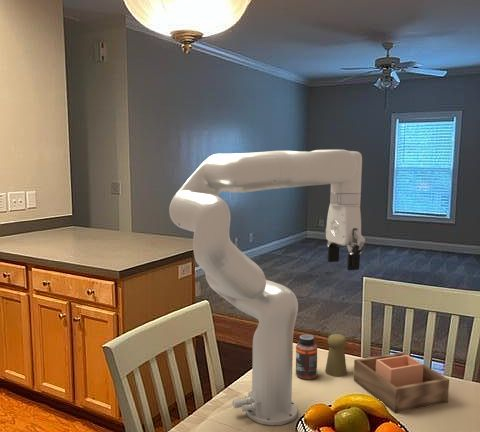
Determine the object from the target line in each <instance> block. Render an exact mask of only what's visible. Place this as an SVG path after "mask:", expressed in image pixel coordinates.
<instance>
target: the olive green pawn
mask: <svg viewBox="0 0 480 432" xmlns="http://www.w3.org/2000/svg"><path fill="white" fill-rule="evenodd" d="M327 344H328V346H329V348H328V352H327V353H328V354H327V360H326V364H325V370H324V371H325V374H326V375H328V376H329V377H333V378H343V377H346V376H347V374H348V373H347V363H346V351H345V347H346V346H347V339H346V337H345V336H344V335H342V334H341V333H339V334H338V333H332V334H330V335H329V336H328V338H327Z"/></svg>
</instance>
